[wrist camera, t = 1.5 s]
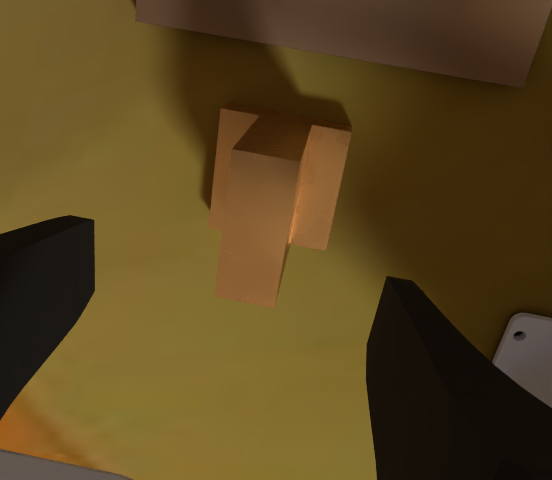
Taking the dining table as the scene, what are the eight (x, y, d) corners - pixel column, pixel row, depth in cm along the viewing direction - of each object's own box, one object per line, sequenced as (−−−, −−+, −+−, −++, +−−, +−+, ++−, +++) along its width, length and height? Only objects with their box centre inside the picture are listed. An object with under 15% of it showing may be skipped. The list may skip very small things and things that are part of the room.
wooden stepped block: (327, 238, 22) (319, 317, 16) (215, 217, 22) (170, 287, 17) (351, 125, 20) (353, 171, 14) (227, 102, 20) (180, 139, 15)
